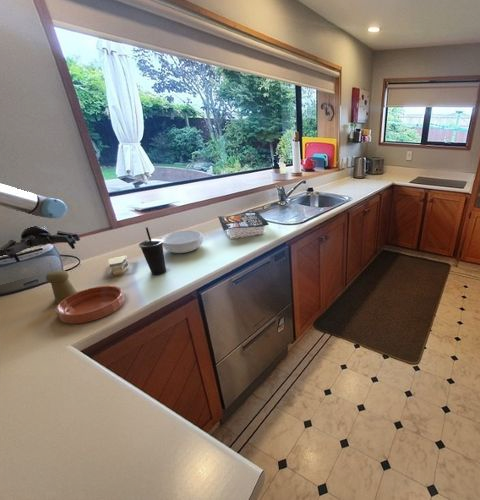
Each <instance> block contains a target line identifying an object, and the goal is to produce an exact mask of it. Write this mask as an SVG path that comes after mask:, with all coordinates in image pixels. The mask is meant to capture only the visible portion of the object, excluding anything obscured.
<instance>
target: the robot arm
mask: <svg viewBox="0 0 480 500" xmlns="http://www.w3.org/2000/svg"><path fill="white" fill-rule="evenodd" d="M27 191H28V190H27ZM27 191H24V190H21V189H17V187H14V186H11V185H7V184H5V183H1V182H0V208H5V209H6V208H8V209H12V210H16V211H21V212H25V213H28V214H32V215H35V216H39V217H40V218H46V219H60V218H63V217H64V216H65V215H66V213H67V211H68V206H67V204H66V203H65V202H64V201H63V200H61V199H58V198H55V197H48V196H47V197H46V196H44V195H40V194H38V193H33V192H31V191H28V192H27ZM45 228H46V227H45ZM45 228H43V227H39V226H34V227H30V228H27V229H25V230H24V231H23V232H22V234H21V237H20V240H19V241H18V240H14V239H9V240H8V241H7V243H6V244H4V245H3V246H1V247H0V256H3V255H7V257H8V258H9V259H14V260H15V261H16V263H19V262H21V260H20V258H19V255H18V254H20V253H21V252H23V251H25V250H28V249H27V248H30V249H32V248H35V247H34V246H37V245H39V244H46V245H48V244H53V245H54V244H56V243H58V244H59V243H64V244H68V246H69V247H70V248H71V249H72V250H75V249H76V247H75V245H76V244H77V242H80V241H81V238H80V236H79V233H74V232H67V231H63V230H57V231H56V233H50V232H49V230H48V229H47V228H46V229H47V230H46V229H45ZM31 247H32V248H31ZM16 253H17V254H16ZM13 257H14V258H13Z"/></svg>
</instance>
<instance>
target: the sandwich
mask: <svg viewBox="0 0 480 500" xmlns="http://www.w3.org/2000/svg"><path fill="white" fill-rule="evenodd" d="M127 257H128V255H120V256H116V257H115V256H114V257H111V258H109V259H108V260H107V261H108V265H109V268H110V271H111V273H113V275H114V276H115V275H122V274H125V273H126V272H125V271H126V269H127V268H128V267H129V266H130V262H129V258H127Z"/></svg>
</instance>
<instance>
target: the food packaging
mask: <svg viewBox="0 0 480 500" xmlns="http://www.w3.org/2000/svg"><path fill="white" fill-rule="evenodd" d="M217 218H218V221H219V222H220V223H219V224H220V225H221V228H222V230H223V231H224V232H226V234H227V237H229V238H230V240H233V239H234V240H235V239H240V238H247V237H248V238H249V237H255V236H260V235H264V234H265V227H266V226H269V225H270V224H269V223H268V221H267V219H265V218H264V217H263V216H261V214H260V213H259V211H245V212H240V213H236V214H232V215H224V216H219V215H218V216H217Z"/></svg>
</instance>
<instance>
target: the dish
mask: <svg viewBox="0 0 480 500" xmlns="http://www.w3.org/2000/svg"><path fill="white" fill-rule="evenodd" d="M125 297H126V296H125V295H124V292H123V290H122V288H121V287H118V286H115V285H101V286H95V287H90V288H89V287H88V288H86V289H83V290H80V291H77V293H75V294H73V295H70V296H69V297H67V298H65V299H63V300H62V301H61V302H60V303H57V305H56V307H55V312H56V314H57V316H58V318H59V320H60V321H61V322H63V323H65V324H72V325H74V324H82V323H83V324H85V323H88V322H93V321H96V320H99V319H102V318H104V317H107V316H109V315H110V314H112V313H115V312H116V311H117V310H118V309H120V308H122V306H123V305H124V304H125V300H126V298H125Z"/></svg>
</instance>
